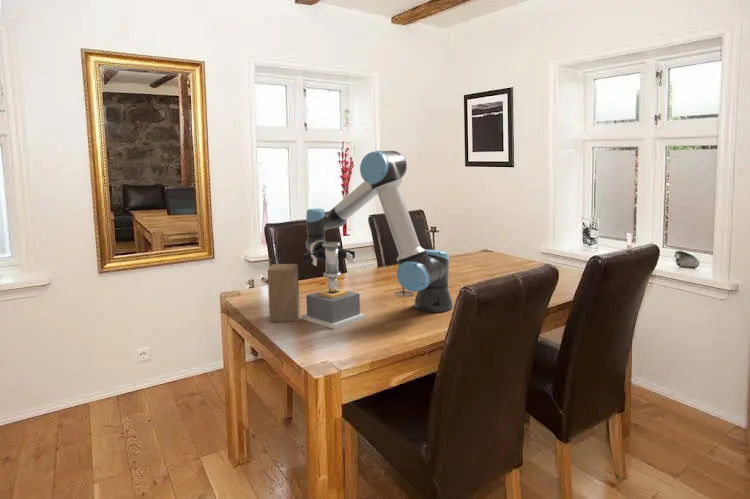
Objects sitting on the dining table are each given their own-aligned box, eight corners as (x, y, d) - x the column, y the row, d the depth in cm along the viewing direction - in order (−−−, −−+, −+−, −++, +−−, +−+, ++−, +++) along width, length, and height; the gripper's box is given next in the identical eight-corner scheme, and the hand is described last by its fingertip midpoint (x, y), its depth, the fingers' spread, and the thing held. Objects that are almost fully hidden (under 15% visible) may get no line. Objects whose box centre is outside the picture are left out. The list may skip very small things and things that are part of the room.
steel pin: (345, 296, 198) (343, 242, 194) (332, 300, 193) (330, 245, 189) (333, 293, 202) (331, 241, 198) (320, 297, 197) (318, 243, 194)
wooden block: (300, 313, 206) (297, 263, 202) (297, 321, 196) (294, 269, 193) (274, 314, 206) (271, 264, 202) (270, 322, 196) (267, 269, 192)
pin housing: (365, 318, 199) (365, 291, 197) (334, 329, 187) (333, 300, 185) (332, 309, 211) (331, 283, 209) (301, 319, 199) (300, 292, 197)
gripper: (351, 257, 216) (366, 267, 196) (290, 262, 209) (300, 273, 189) (351, 239, 215) (366, 248, 195) (290, 243, 207) (299, 253, 187)
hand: (333, 260), depth 192 cm, fingers open, 13 cm apart
